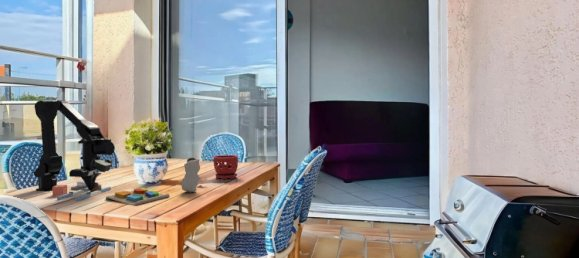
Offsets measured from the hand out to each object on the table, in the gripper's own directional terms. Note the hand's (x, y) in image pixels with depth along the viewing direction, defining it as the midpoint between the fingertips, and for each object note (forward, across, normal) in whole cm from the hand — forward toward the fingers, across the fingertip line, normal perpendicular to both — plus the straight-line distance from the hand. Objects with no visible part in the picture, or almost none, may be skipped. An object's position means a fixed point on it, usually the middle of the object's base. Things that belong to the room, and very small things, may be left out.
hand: (90, 190), depth 163 cm
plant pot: (+1, +47, -46) cm, 66 cm away
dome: (+1, +9, +9) cm, 13 cm away
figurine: (+2, +10, -41) cm, 42 cm away
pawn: (+1, +3, 0) cm, 4 cm away
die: (+1, -6, +10) cm, 11 cm away
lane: (+1, -3, 0) cm, 3 cm away
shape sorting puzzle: (+2, -5, -25) cm, 26 cm away
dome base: (+1, +9, +9) cm, 13 cm away
